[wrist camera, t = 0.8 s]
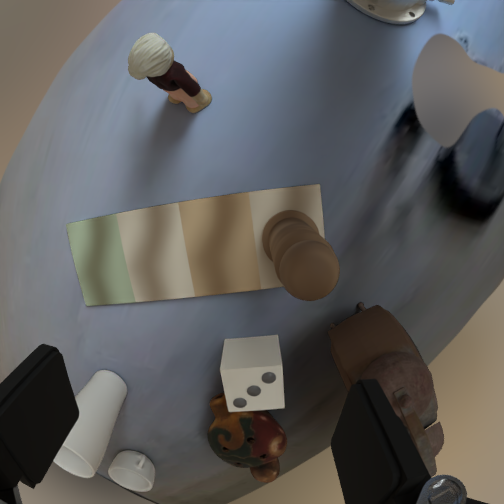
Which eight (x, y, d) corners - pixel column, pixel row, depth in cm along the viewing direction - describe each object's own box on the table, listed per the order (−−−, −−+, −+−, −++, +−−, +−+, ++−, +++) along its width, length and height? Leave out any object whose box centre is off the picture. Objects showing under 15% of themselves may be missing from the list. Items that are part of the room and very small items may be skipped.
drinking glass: (101, 400, 36) (61, 472, 22) (83, 363, 35) (30, 434, 20) (140, 401, 36) (105, 483, 21) (122, 362, 34) (74, 444, 20)
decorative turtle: (249, 455, 39) (244, 494, 31) (189, 392, 37) (172, 432, 29) (306, 436, 37) (309, 477, 29) (250, 366, 35) (244, 409, 27)
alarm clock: (400, 361, 34) (473, 470, 15) (352, 388, 35) (402, 511, 16) (366, 272, 31) (476, 380, 12) (308, 304, 32) (365, 448, 13)
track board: (318, 184, 29) (319, 184, 29) (326, 279, 31) (327, 280, 31) (67, 223, 30) (65, 224, 29) (87, 304, 32) (86, 305, 32)
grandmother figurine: (227, 89, 27) (211, 34, 14) (211, 122, 27) (184, 87, 15) (160, 68, 26) (111, 16, 14) (144, 100, 27) (85, 62, 14)
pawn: (315, 206, 29) (357, 229, 17) (319, 261, 30) (359, 314, 18) (258, 213, 29) (263, 240, 17) (265, 268, 31) (273, 327, 19)
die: (277, 334, 33) (282, 365, 27) (280, 375, 35) (284, 408, 29) (224, 338, 33) (219, 370, 27) (231, 379, 35) (228, 412, 29)
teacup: (150, 474, 41) (143, 495, 36) (112, 456, 40) (103, 476, 35) (170, 453, 39) (163, 478, 34) (127, 432, 38) (117, 456, 33)
